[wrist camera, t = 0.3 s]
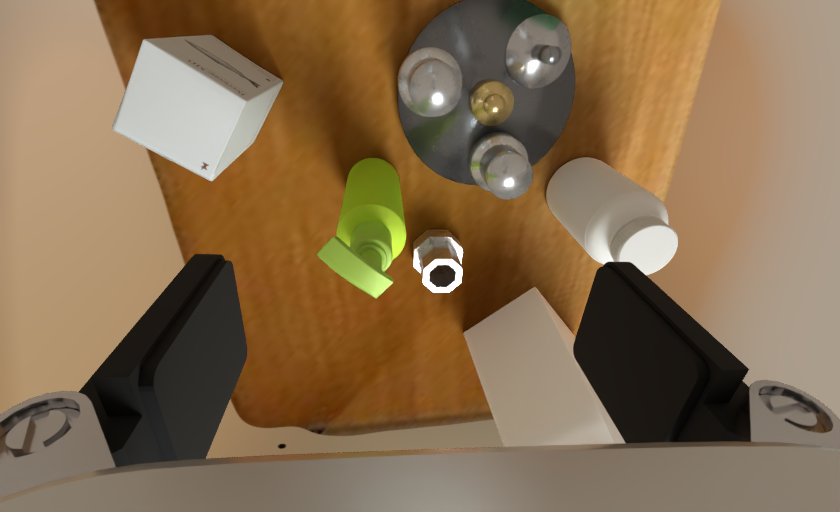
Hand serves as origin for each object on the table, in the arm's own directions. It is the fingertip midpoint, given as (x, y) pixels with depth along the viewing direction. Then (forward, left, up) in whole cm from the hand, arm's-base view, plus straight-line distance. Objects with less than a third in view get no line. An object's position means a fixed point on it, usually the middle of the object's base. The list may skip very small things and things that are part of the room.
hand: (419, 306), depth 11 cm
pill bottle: (+10, +22, -36) cm, 43 cm away
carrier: (0, +10, -36) cm, 37 cm away
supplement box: (0, -15, -36) cm, 39 cm away
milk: (+32, +19, -36) cm, 52 cm away
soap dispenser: (+9, -2, -36) cm, 37 cm away
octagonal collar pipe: (+18, +6, -36) cm, 40 cm away
